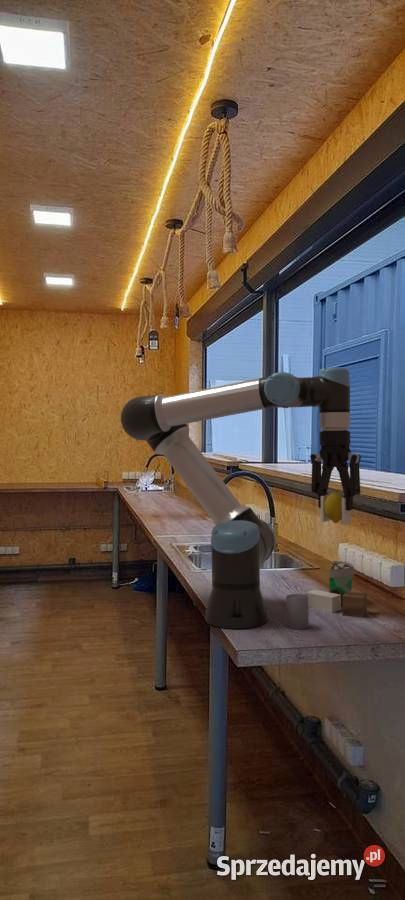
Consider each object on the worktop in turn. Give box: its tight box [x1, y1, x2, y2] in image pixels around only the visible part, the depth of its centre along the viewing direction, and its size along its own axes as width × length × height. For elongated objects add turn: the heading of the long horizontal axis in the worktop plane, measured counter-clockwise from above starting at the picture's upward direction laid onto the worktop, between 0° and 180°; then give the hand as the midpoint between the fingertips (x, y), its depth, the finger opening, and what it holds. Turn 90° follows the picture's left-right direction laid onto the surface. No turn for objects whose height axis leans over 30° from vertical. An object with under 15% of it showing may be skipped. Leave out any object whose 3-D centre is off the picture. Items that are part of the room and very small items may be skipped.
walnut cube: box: [342, 591, 368, 619], centre depth 158 cm, size 5×5×5 cm
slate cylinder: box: [285, 593, 310, 631], centre depth 148 cm, size 5×5×7 cm
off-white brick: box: [305, 589, 342, 614], centre depth 163 cm, size 4×8×4 cm, turn 45°
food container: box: [328, 560, 356, 607], centre depth 168 cm, size 12×6×10 cm, turn 163°
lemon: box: [324, 491, 344, 524], centre depth 159 cm, size 6×6×8 cm
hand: (335, 522), depth 159 cm, fingers closed on lemon, 5 cm apart
